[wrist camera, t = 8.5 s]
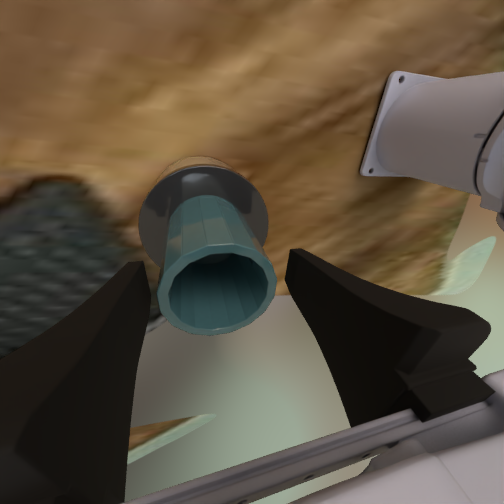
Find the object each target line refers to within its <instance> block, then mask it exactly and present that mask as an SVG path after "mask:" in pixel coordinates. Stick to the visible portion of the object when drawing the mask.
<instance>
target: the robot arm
mask: <svg viewBox="0 0 504 504" xmlns="http://www.w3.org/2000/svg"><path fill="white" fill-rule="evenodd" d="M399 78H400V82H399ZM370 169H371V170H370ZM369 170H370V172H369ZM360 174H361V175H363V176H392V177H412V178H415V179H419V180H423V181H427V182H430V183H434V184H438V185H441V186H445V187H449V188H452V189H456V190H460V191H464V192H467V193H471V194H475V195H478V196H481V197H482V198H481V204H480V207H482V208H486V209H489V210H492V211H496V212H498V213H497V217H496V221H497V224H498V225H499V227H500V228H501V229H502V230H503V231H504V72H496V73H489V74H482V75H475V76H468V77H460V78H453V79H444V78H438V77H432V76H426V75H420V74H414V73H409V72H403V71H395V72H392V73H391V74H390V76H389V78H388V81H387V84H386V87H385V90H384V94H383V97H382V100H381V103H380V107H379V110H378V113H377V117H376V120H375V123H374V126H373V130H372V133H371V136H370V139H369V143H368V146H367V149H366V152H365V156H364V159H363V162H362V165H361V169H360ZM285 282H286V284H287V287H288V289H289V292H290V294H291V296H292V298H293V300H294V301H295V303H296V305H297V306H298V308H299V310H300V311H301V313H302V315H303V317H304V318H305V320H306V322H307V323H308V325H309V327H310V328H311V330H312V332H313V334H314V336H315V338H316V340H317V342H318V344H319V346H320V349H321V350H322V353H323V355H324V358H325V360H326V362H327V364H328V367H329V369H330V372H331V374H332V377H333V379H334V382H335V384H336V386H337V389H338V392H339V395H340V397H341V400H342V403H343V406H344V408H345V412H346V414H347V417H348V420H349V423H350V426H351V428H349V429H346V430H343V431H340V432H337V433H334V434H330V435H327V436H324V437H321V438H318V439H315V440H312V441H309V442H306V443H303V444H300V445H297V446H294V447H291V448H288V449H285V450H282V451H279V452H276V453H273V454H270V455H266V456H263V457H261V458H257V459H254V460H252V461H248V462H245V463H242V464H239V465H236V466H233V467H230V468H227V469H224V470H221V471H218V472H215V473H212V474H209V475H206V476H203V477H200V478H196V479H194V480H190V481H187V482H184V483H181V484H178V485H175V486H172V487H169V488H166V489H163V490H160V491H157V492H154V493H151V494H148V495H145V496H142V497H139V498H136V499H133V500H130V501H127V502H124V499H125V483H126V471H127V457H128V446H129V435H130V423H131V415H132V406H133V397H134V389H135V380H136V373H137V367H138V362H139V357H140V353H141V348H142V344H143V340H144V336H145V332H146V327H147V323H148V318H149V313H150V302H151V293H150V288H149V284H148V280H147V275H146V271H145V267H144V262H143V261H136V262H128V263H127V264H126V265H125V266H124V267H123V268H121V269H120V270H119V271H118V272H117V273H116V274H115V275H114V276H113V277H112V278H111V279H110V280H109V281H108V282H107V283H106V284H105V285H104V286H103V287H101V288H100V289H99V290H98V291H97V292H96V293H95V294H94V295H92V296H91V297H90V298H89V299H88V300H86V301H85V302H84V303H83V304H82V305H80V306H79V307H78V308H77V309H76V310H74V311H73V312H72V313H70V314H69V315H68V316H66V317H65V318H64V319H62V320H61V321H60V322H58V323H57V324H55V325H54V326H53V327H51V328H50V329H48V330H47V331H45V332H44V333H42V334H41V335H39V336H37V337H36V338H34V339H33V340H31V341H30V342H28V343H26V344H25V345H23V346H22V347H20V348H19V349H17V350H15V351H14V352H12V353H11V354H9V355H7V356H6V357H4V358H2V359H0V504H249V503H251V502H254V501H256V500H259V499H262V498H264V497H267V496H270V495H272V494H275V493H278V492H280V491H283V490H285V489H288V488H291V487H293V486H296V485H298V484H301V483H304V482H307V481H309V480H312V479H314V478H317V477H320V476H322V475H325V474H328V473H330V472H333V471H336V470H338V469H341V468H343V467H346V466H349V465H351V464H354V463H357V462H359V461H362V460H365V459H367V458H370V457H372V456H375V455H378V454H379V455H378V456H376V457H374V458H372V459H371V461H370V463H369V465H368V466H367V468H366V469H365V470H364V471H363V472H362V473H361V474H359V475H358V476H356V477H353V478H351V479H348V480H345V481H342V482H339V483H337V484H335V485H332V486H329V487H327V488H325V489H322V490H319V491H317V492H314V493H312V494H309V495H307V496H305V497H302V498H300V499H298V500H295V501H293V502H290V503H288V504H504V369H503V370H500V371H497V372H494V373H490V374H488V375H486V376H484V377H482V378H480V377H478V375H476V374H475V373H474V372H473V371H474V370H476V369H477V368H476V365H474V364H473V363H472V362H471V361H470V360H469V359H468V358H469V357H470V356H471V355H472V354H473V353H474V352H475V351H476V350H477V349H478V348H479V346H480V345H482V343H483V342H484V341H485V340H486V339H487V337H488V335H489V334H490V332H491V326H490V324H489V323H488V322H487V321H486V320H484V319H483V318H481V317H480V316H478V315H477V314H475V313H474V312H472V311H470V310H468V309H466V308H462V307H457V306H452V305H447V304H442V303H437V302H433V301H429V300H425V299H420V298H417V297H413V296H410V295H406V294H403V293H399V292H396V291H393V290H390V289H387V288H384V287H381V286H379V285H376V284H373V283H371V282H368V281H366V280H363V279H361V278H359V277H356V276H354V275H352V274H350V273H348V272H346V271H344V270H342V269H340V268H338V267H336V266H334V265H332V264H330V263H328V262H326V261H324V260H323V259H321V258H319V257H317V256H315V255H313V254H311V253H310V252H308V251H305V250H303V249H301V248H300V249H290V253H289V259H288V264H287V270H286V275H285Z"/></svg>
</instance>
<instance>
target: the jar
mask: <svg viewBox="0 0 504 504" xmlns="http://www.w3.org/2000/svg"><path fill="white" fill-rule="evenodd" d="M201 195H213V196H218V197H221V198H224V199H226V200H228V201H229V202H231V203H232V204H233V205H235V206H236V207H237V209H238V210H239V211H240V213H241V214H242V215H243V216H244V218H245V220H246V221H247V223H248V225H249V227H250V228H251V230H252V232H253V233H254V235H255V237H256V238H257V240H258V242H259V243H260V245H261V247H263V245H264V243H265V240H266V237H267V232H268V213H267V209H266V206H265V203H264V200H263V199H262V197H261V195H260V193H259V192H258V191H257V189H256V188H255V187H254V186H253V185H252V184H251V183H250V182H249V181H248V180H247V179H246V178H245V177H243V176H242V175H241V174H239V173H237V172H236V171H235V170H234V169H233V168H231V167H230V166H229V165H227V164H225V163H224V162H222V161H219V160H217V159H214V158H210V157H202V156H197V157H189V158H185V159H182V160H179V161H177V162H175V163H173V164H172V165H170V166H169V167H168V168H166V169H165V170H164V171H163V172H162V174H161V175H160V176H159V178H158V179H157V181H156V183H155V184H154V186H153V187H152V188H151V190H150V191H149V192H148V194H147V196H146V198H145V200H144V202H143V204H142V207H141V210H140V215H139V234H140V238H141V241H142V244H143V246H144V248H145V251H146V252H147V254H148V255H149V257H150V258H151V259H152V260H153V261H154V262H155V263H156V264H157V265H158V266H159V267H161V261H162V254H163V248H164V241H165V234H166V230H167V226H168V222H169V219H170V216H171V215H172V213H173V211H174V210H175V209H176V208H177V207H178V206H179V205H180V204H181V203H183V202H184V201H186V200H188V199H190V198H193V197H196V196H201Z"/></svg>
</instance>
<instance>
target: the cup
mask: <svg viewBox="0 0 504 504" xmlns="http://www.w3.org/2000/svg"><path fill="white" fill-rule="evenodd" d="M276 284H277V277H276V275H275V272H274V269H273V266H272V263H271V262H270V260H269V258H268V257H267V255H266V253H265V252H264V250H263V248H262V247H261V245H260V243H259V242H258V240H257V238H256V237H255V235H254V233H253V232H252V230H251V228H250V227H249V225H248V223H247V221H246V220H245V218H244V216H243V215H242V214H241V213H240V211H239V210H238V209H237V207H236V206H235V205H233V204H232V203H231V202H229V201H228V200H226V199H224V198H221V197H218V196H213V195H201V196H196V197H193V198H190V199H188V200H186V201H184V202H183V203H181V204H180V205H179V206H178V207H177V208H176V209H175V210H174V211H173V213H172V215H171V216H170V219H169V222H168V226H167V230H166V234H165V241H164V248H163V254H162V261H161V267H160V274H159V281H158V287H157V299H158V304H159V309H160V312H161V313H162V314H163V316H164V317H165V318H166V319H167V320H168V321H169V322H170V323H171V324H172V325H173V326H174V327H176V328H179V329H181V330H184V331H186V332H188V333H191V334H198V335H208V336H211V335H218V334H224V333H230V332H233V331H235V330H238V329H240V328H242V327H244V326H246V325H249V324H250V323H252V322H253V321H254V320H255V319H256V318H258V317H259V316H260V315H261V314H263V313H264V311H266V309H267V308H268V306H269V304H270V303H271V301H272V299H273V298H274V296H275V290H276Z"/></svg>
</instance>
